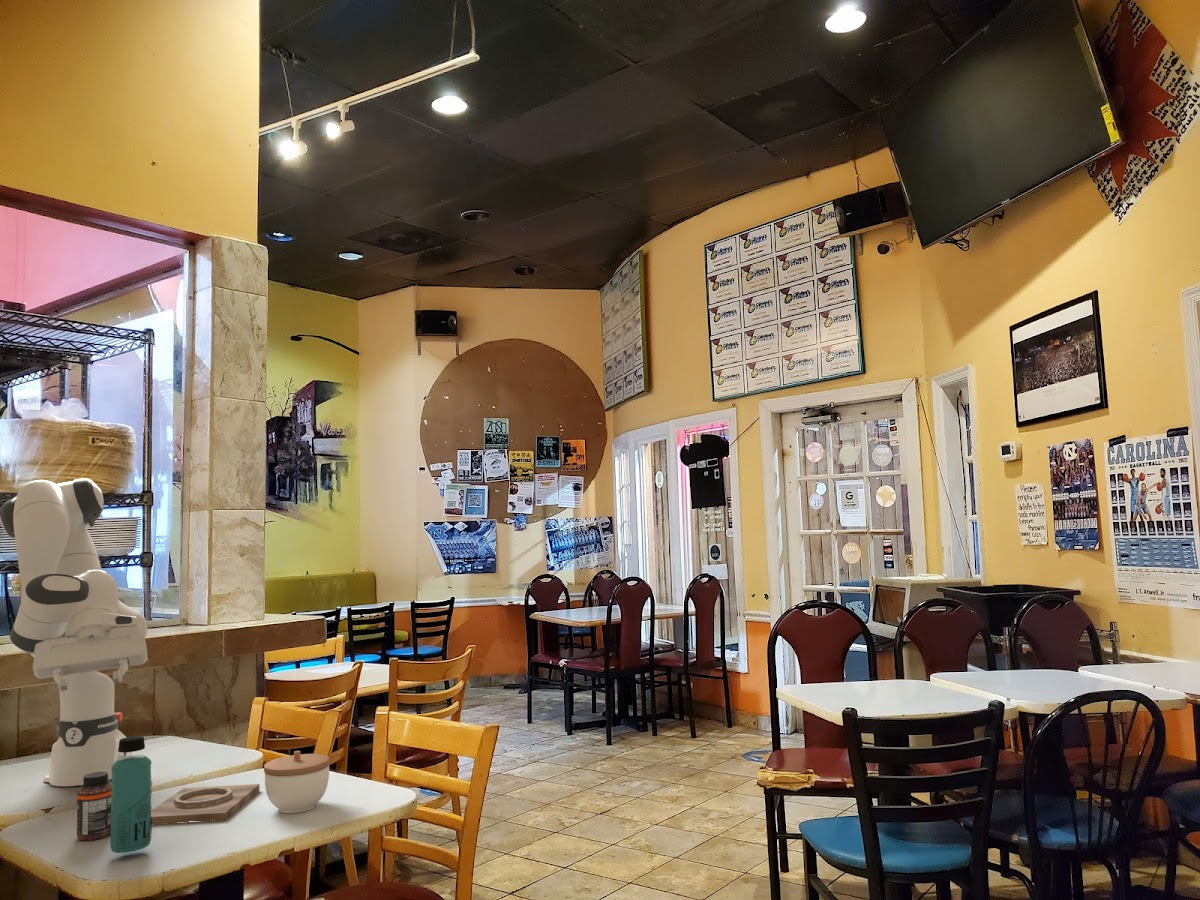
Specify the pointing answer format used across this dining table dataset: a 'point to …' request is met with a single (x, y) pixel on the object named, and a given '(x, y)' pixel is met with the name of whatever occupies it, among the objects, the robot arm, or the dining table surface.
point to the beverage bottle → (131, 799)
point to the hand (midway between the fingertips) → (90, 684)
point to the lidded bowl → (296, 781)
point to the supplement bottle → (94, 807)
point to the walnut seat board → (203, 804)
